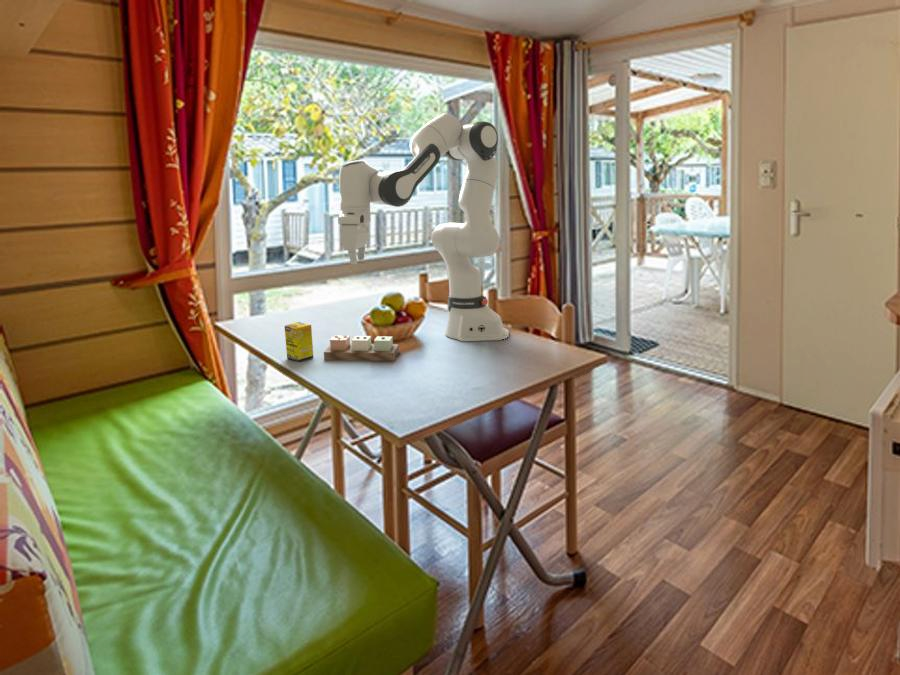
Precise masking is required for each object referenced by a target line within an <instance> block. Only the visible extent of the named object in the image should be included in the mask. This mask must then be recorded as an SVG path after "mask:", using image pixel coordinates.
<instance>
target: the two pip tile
mask: <svg viewBox="0 0 900 675" xmlns="http://www.w3.org/2000/svg"><path fill="white" fill-rule="evenodd" d="M351 344H352V351H369V350H370V349H371V344H372V335H355V336H354V337H353V338H352V339H351Z"/></svg>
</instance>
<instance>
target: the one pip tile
mask: <svg viewBox="0 0 900 675" xmlns="http://www.w3.org/2000/svg"><path fill="white" fill-rule="evenodd" d="M373 344H374V351H391V350H392V349H393V344H394V337H393V336H390V335H389V336H386V335H383V336H380V335H377V336H376V337H375V338H374V340H373Z"/></svg>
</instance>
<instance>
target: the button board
mask: <svg viewBox="0 0 900 675" xmlns="http://www.w3.org/2000/svg"><path fill="white" fill-rule="evenodd" d="M399 353H400V344H399V343H398V344H397V343H393V349H392V350H391V351H374V343H371V349H370V350H369V351H352V342H350V347H349V349H348V350H331V348H330V345H329V346H328V347H327V348H326V349H324V351H323V360H324V361H369V362H371V361H372V362H376V361H377V362H394V361H395V360H396V357H397V356H398V355H399Z"/></svg>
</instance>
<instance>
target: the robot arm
mask: <svg viewBox="0 0 900 675" xmlns="http://www.w3.org/2000/svg"><path fill="white" fill-rule="evenodd" d="M498 143H499V135H498V132H497V129H496V127H495V126H494V125H493V124H492V123H491V122H488V121H481V120H480V121H477V122H471V123H466V124H464V125H463V124H462V125H461V123H460V121H459V120H458V118H457V117H456V116H455V115H453V114H452V113H442V114H440V115H437V116H436V117H434V118H433V119H430V121H428V122H427V123H426V124H424V125H423V126H421V127H420V128H419V129H418V130H416V132H415V133H414V134H413V135H412V137H411V138H410V141H409V148H410V153H411V155H412V157H413V159H411V160H410V162H408V164H407V165H406V166H405V167H404V168H402V169H400V170H396V171H380V170H378V169H376V168H374V167H372V166H371V165H369V164H368V162H367V161H366V160H364V159H355V160H350V161H346V162H345V163H344V162H343V164H342V165H341V167H340V169H339V184H338V185H339V193H340V198H341V200H340V206H339V208H340V214H339V216H338V218H337V222H338V225H340V228H339V230H340V239H341V246H342V249H343V251H347V253H348V257H349V263H350V265H351V266H352V265H353V266H354V265H357V263H358V261H364V260H365V253H366V245H368V244H370V227H369V226H370V225H369V223H371V222H372V220H371V204H377V205H378V204H379V205H385V206H386V205H387V206H388V205H389V206H392V207H397V208H398V207H403V206H405V205H407V204H408V202H410V200H411V198H412V197H413V194H414V192H415V190H416V189H417V187H418V186H419V185H420V183H422V181H424V179H425V178H426V177H427V176H428V175H429V174H430V172H432V170H434V168H435V167H436V165H437V164H438V162H439V161H440V159H441V158H442V157H443V156H446V157H447V158H449V159H450V160H453V161H463V160H465V161H466V171H465V174H464V178H463V182H462V184H461V185H462V186H461V189H460V192H459V193H460V194H459V197H458V202H457V203H458V205H459V208H460V209H461V210H462V211H463V213H465V221H464V223H463V222H462V223H461V222H445V223H442V224H441V223H440V224H438V225H436V227H435V228H434V230H433V231H432V235H431V242H432V246H433V248H434V249H435V250H436V251H437V252H438V253H439V254H440V256H441V257H442V260H443V262H444V263H445V267H446V269H447V272H448V273H447V274H448V284H449V285H448V288H449V290H448V291H449V295H448V298H447V309H448V320H447V325H446V326H447V327H446V330H445V334H444V335H445V336H446V337H447V338H450V339H455V340H458V341H460V342H482V341H483V342H484V341H485V342H486V341H487V342H488V341H503V340H502V339H504V340H506V339H508V338H509V337H510V332H509V330H508V329H507V328H505V327H504V325H503V321H502V320H503V319H502V317H501V316H500V315H499V314H498V313H496V311H494V310H493V309H492V308H490V307H489V306H488V305H487V304H489V301H488V299H487V296H486V295H482V275H481V272H480V270H479V269H478V268H476V266H474V264H473V263H472V261H471V258H485V257H491V256H493V255H495V254H496V252H497V250H498V249H499V247H500V235H499V232H498V231H497V229H496V228H495V227H494V225H493V223H492V220H491V205H492V202H493V196H494V192H495V188H496V183H497V177H498V161H497V160H496V158H495V155H496V153H497V147H498ZM470 257H471V258H470ZM507 337H508V338H507ZM505 338H506V339H505Z"/></svg>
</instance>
